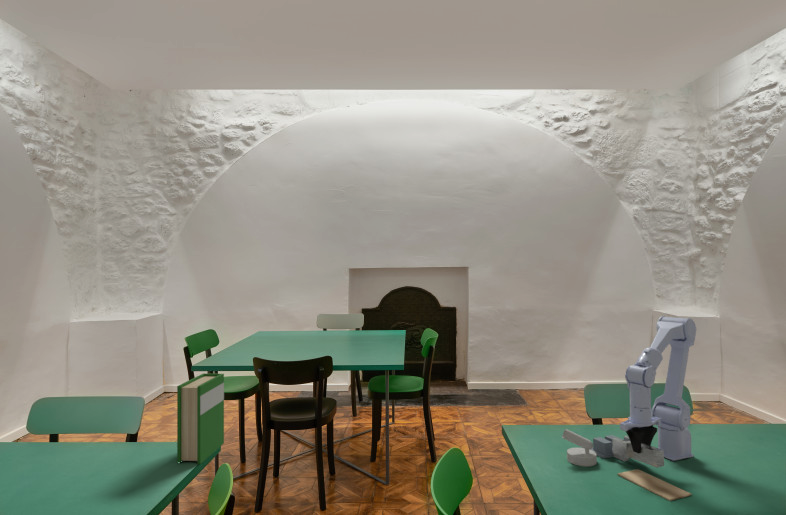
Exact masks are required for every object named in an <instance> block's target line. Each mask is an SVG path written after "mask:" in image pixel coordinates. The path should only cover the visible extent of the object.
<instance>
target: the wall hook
mask: <svg viewBox="0 0 786 515" xmlns="http://www.w3.org/2000/svg"><path fill="white" fill-rule="evenodd" d="M561 436H562V437H561V438H562V439H564V440H566V441H568V442H570V443H572V444H574V445H576V446H579V447H570V448H568V449H566V460H567V461H568V462H569V463H570V464H573V465H576V466H580V467H593V466H596V465H597V462H598V461H597V460H598V459H597V454H596V453H595V452H594V451H592V450H590V449H592V448H593V441H592V440H590V439H588V438H586V437H584V436H582V435H580V434H577V433H575V432H574V431H571V430H570V429H568V428H565V429H564V431H563V432H562V435H561Z"/></svg>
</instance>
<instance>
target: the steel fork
mask: <svg viewBox="0 0 786 515" xmlns="http://www.w3.org/2000/svg"><path fill="white" fill-rule="evenodd" d="M620 439H621V438H620ZM620 439H617V438H613V439H612V443H613V453H614V454H617V455H619V456H622V457H624V458H627V459H628V458H629V459H633V460H636V461H637V462H638V461H639V462H641V463H644V464H647V465H649V466H651V467H654V468H656V469H657V468H662V467H665V457H664V452H663V450H662V449H659V448H658V447H655V446H652V445H651V446H650V445H647V444H644V443H641V452H640V453H636V452H634V451H633V449H632V445H631V442H630V439H629V437H628V435H624V436H623V440H624V441H623V440H620Z"/></svg>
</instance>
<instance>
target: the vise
mask: <svg viewBox="0 0 786 515" xmlns="http://www.w3.org/2000/svg"><path fill="white" fill-rule="evenodd" d="M613 438H617V439H620V440H623V441H624V438H620V437H618V436H615V435H613V434H609V435H605V436H604V437H601V436H599V437H593V438H592V443H593V448H592V449H590V450H592V451H594V452H595V453H596V454H597V456H598V458H599V457H600V459H601V458H602V459H610V458H615V459H617V460H619V461H622V462H627V461H628V462H629V459H630V458H628V459H627V458H624V457H622V456H619V455H617V454H614V453H613V443H612V439H613Z"/></svg>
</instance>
